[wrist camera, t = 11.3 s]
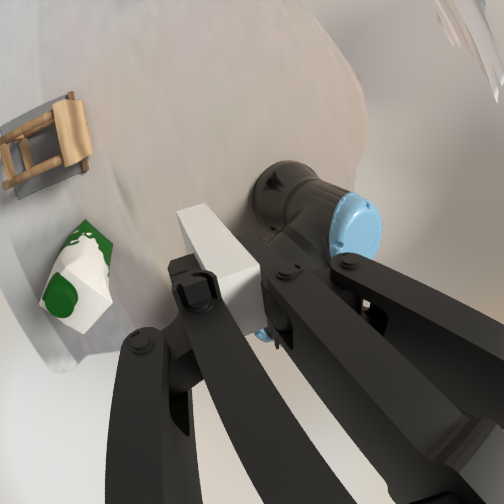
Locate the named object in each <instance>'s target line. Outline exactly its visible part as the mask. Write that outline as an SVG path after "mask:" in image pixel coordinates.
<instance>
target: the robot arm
mask: <svg viewBox="0 0 504 504" xmlns="http://www.w3.org/2000/svg"><path fill="white" fill-rule="evenodd" d="M253 208H254V212H255V214H256V216H257V218H258V219H259V221H260V222H261V223H262V224H263V225H264V226H266V227H267V228H268V229H270V230H272V231H274V232H276V233H277V234H276V235H275V236H274V237H273V238H272V239H271V240H270V241H269V242H268V243H267V244H266V242H264V241H263V240H262V239H261V238H260V237H258V236H255V235H252V234H248V235H245V236H242V237H238V238H235V237H234V235H233V234H232V233H231V232H230V231H229V230H228V229H227V228H226V227H225V225H224V224H223V223H222V222H221V221H220V220H219V219H218V218H217V216H216V215H215V214H214V213H213V212H212V211H211V210H210V209H209V208H208V206H207V205H206V204H205V203H202V204H199V205H196V206H192V207H189V208H186V209H182V210H179V211H176V213H177V217H178V221H179V225H180V228H181V232H182V236H183V239H184V243H185V247H186V250H187V254H188V255H186V256H183V257H180V258H177V259H174V260H171V261H170V263H169V266H168V272H169V275H170V279H171V282H172V293H173V296H174V299H175V301H176V304H177V306H178V309H179V313H178V315H177V317H176V319H175V320H174V321H173V322H172V323H171V324H170V325H169V326H167V327H166V328H164V329H163V330H161V331H159V330H158V329H155V328H153V327H144V328H141V329H137V330H135V331H134V332H132V333H130V334H129V335H128V336H127V337H126V339H125V340H124V342H123V344H122V346H121V351H120V356H119V361H118V366H117V372H116V378H115V384H114V390H113V397H112V404H111V411H110V420H109V429H108V440H107V453H106V471H105V472H106V473H105V504H203V501H202V495H201V487H200V479H199V471H198V463H197V452H196V442H195V430H194V416H193V403H192V402H193V401H192V389H191V388H192V387H194V386H195V385H196V384H198V383H199V382H201V381H202V380H203V379H204V380H205V383H206V385H207V388H208V390H209V392H210V395H211V397H212V400H213V402H214V404H215V407H216V409H217V411H218V414H219V416H220V418H221V420H222V423H223V425H224V427H225V429H226V431H227V434H228V436H229V437H230V440H231V442H232V444H233V446H234V448H235V450H236V452H237V454H238V456H239V458H240V460H241V462H242V464H243V466H244V468H245V470H246V472H247V474H248V476H249V478H250V479H251V481H252V483H253V485H254V487H255V489H256V490H257V492H258V494H259V496H260V497H261V499H262V501H263V503H264V504H357V503H356V501H355V500H354V499H353V498H352V496H351V495H350V494H349V492H348V491H347V490H346V489H345V487H344V486H343V484H342V483H341V482H340V480H339V479H338V478H337V477H336V475H335V474H334V472H333V471H332V470H331V468H330V467H329V466H328V464H327V463H326V462H325V460H324V458H323V457H322V456H321V454H320V453H319V452H318V450H317V449H316V447H315V446H314V444H313V443H312V441H311V440H310V439H309V437H308V436H307V434H306V433H305V431H304V430H303V428H302V427H301V425H300V424H299V422H298V421H297V419H296V418H295V416H294V415H293V414H292V412H291V410H290V409H289V407H288V406H287V404H286V403H285V401H284V400H283V398H282V397H281V395H280V393H279V392H278V390H277V389H276V387H275V386H274V384H273V382H272V381H271V379H270V378H269V376H268V375H267V373H266V371H265V370H264V368H263V366H262V365H261V363H260V362H259V360H258V358H257V357H256V355H255V353H254V352H253V350H252V348H251V347H250V345H249V343H248V342H247V340H246V338H245V337H244V336H246V335H248V334H251V333H254V334H255V336H256V337H257V338H259V339H260V340H261V341H263V342H270V341H273V340H274V343H275V347H276V349H279V345H280V346H281V347H283V348H284V349H285V351H286V352H287V353H288V355H289V356H290V358H291V359H292V361H293V362H294V363H295V364H296V366H297V367H298V369H299V370H300V371H301V373H302V374H303V376H304V377H305V378H306V380H307V381H308V382H309V384H310V385H311V386H312V388H313V389H314V390H315V392H316V393H317V395H318V396H319V397H320V398H321V400H322V401H323V403H324V404H325V405H326V406H327V408H328V409H329V410H330V412H331V413H332V414H333V416H334V417H335V418H336V419H337V421H338V422H339V423H340V425H341V426H342V427H343V429H344V430H345V431H346V433H347V434H348V435H349V436H350V438H351V439H352V440H353V441H354V443H355V444H356V445H357V447H358V448H359V449H360V451H361V452H362V453H363V454H364V456H365V457H366V458H367V459H368V460H369V462H370V463H371V464H372V465H373V467H374V468H375V469H376V470H377V472H378V473H379V474H380V475H381V477H382V478H383V479H384V480H385V482H386V483H387V486H388V492H389V495H390V497H391V498H392V500H393V501H394V502H395V503H396V504H504V325H503V324H501V323H499V322H498V321H496V320H494V319H492V318H490V317H488V316H486V315H484V314H482V313H481V312H479V311H477V310H475V309H473V308H471V307H469V306H467V305H465V304H463V303H461V302H459V301H457V300H455V299H453V298H451V297H449V296H447V295H445V294H443V293H441V292H439V291H437V290H435V289H433V288H431V287H429V286H427V285H425V284H423V283H421V282H418V281H417V280H414V279H412V278H410V277H408V276H406V275H404V274H401V273H399V272H397V271H395V270H393V269H391V268H389V267H386V266H384V265H382V264H380V263H378V262H375V261H373V258H374V257H375V255H376V253H377V250H378V247H379V245H380V241H381V235H382V220H381V216H380V213H379V211H378V209H377V208H376V206H375V205H374V204H373V203H371V202H370V201H368V200H367V199H365V198H363V197H361V196H360V195H359V194H357V193H354V192H350V191H348V190H345V189H343V188H340V187H338V186H335V185H333V184H330V183H328V182H325V181H323V180H321V179H320V178H319V177H318V176H317V174H316V173H315V172H314V171H313V170H312V169H311V168H310V167H308V166H307V165H305V164H302V163H299V162H296V161H289V160H288V161H281V162H278V163H276V164H274V165H272V166H271V167H269V168H268V169H267V170H266V171H265V172H264V173H263V174H262V175H261V176H260V178H259V180H258V181H257V183H256V186H255V189H254V193H253ZM364 299H365V300H367V301H368V302H370V307H369V308H367V307H364V306H363V300H364Z"/></svg>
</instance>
